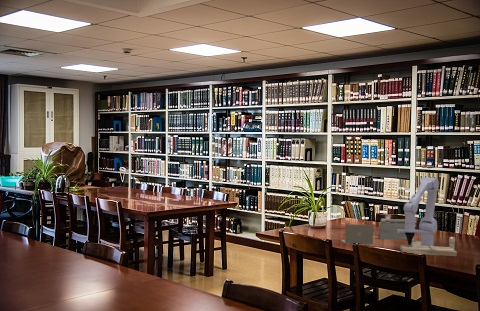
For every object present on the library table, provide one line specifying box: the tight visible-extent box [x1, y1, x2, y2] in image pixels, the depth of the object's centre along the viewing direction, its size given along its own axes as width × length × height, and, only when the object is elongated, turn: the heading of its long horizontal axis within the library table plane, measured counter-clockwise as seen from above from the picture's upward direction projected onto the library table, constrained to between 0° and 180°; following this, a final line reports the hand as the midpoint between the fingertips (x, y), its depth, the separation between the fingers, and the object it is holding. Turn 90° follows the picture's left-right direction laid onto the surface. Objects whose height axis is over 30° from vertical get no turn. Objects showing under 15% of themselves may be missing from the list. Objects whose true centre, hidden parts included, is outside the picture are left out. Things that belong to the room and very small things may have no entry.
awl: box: [448, 236, 456, 250], centre depth 315 cm, size 3×3×8 cm
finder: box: [411, 240, 421, 247], centre depth 311 cm, size 5×5×3 cm
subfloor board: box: [399, 244, 458, 257], centre depth 307 cm, size 13×30×3 cm, turn 82°
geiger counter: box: [373, 218, 407, 241], centre depth 347 cm, size 14×6×25 cm
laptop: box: [340, 224, 374, 245], centre depth 334 cm, size 18×12×13 cm
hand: (409, 244), depth 312 cm, fingers closed
